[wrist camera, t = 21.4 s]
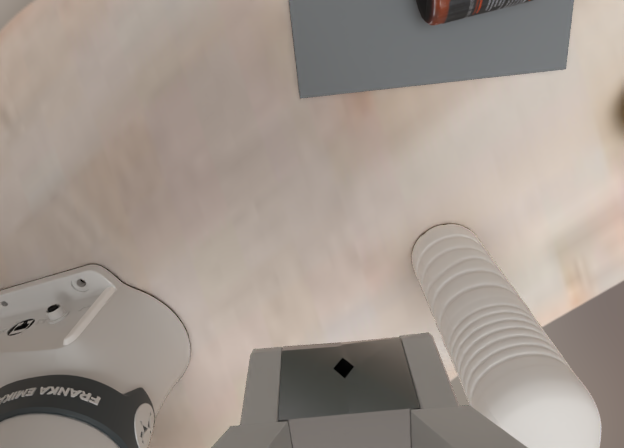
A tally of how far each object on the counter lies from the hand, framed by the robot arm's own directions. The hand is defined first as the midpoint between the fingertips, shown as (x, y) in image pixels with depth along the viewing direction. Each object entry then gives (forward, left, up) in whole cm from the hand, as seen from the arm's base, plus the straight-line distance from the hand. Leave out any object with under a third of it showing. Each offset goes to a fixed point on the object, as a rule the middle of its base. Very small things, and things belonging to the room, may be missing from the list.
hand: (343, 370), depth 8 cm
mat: (+9, +6, -33) cm, 35 cm away
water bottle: (+10, -18, -33) cm, 39 cm away
